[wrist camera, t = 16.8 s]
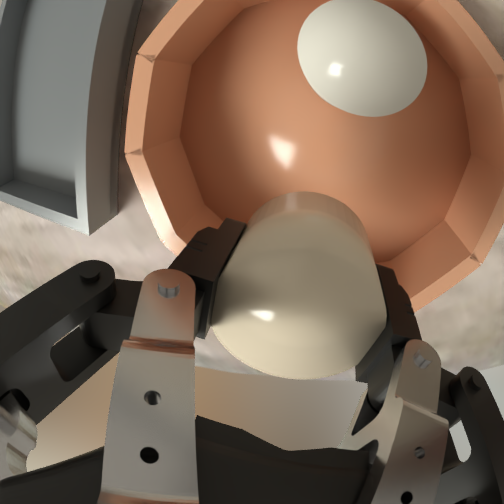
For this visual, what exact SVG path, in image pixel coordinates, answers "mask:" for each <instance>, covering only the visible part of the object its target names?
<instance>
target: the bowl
mask: <svg viewBox="0 0 504 504" xmlns="http://www.w3.org/2000/svg"><path fill="white" fill-rule="evenodd" d="M329 1H332V0H178V1H177V3H176V4H175V5H174V6H173V7H172V8H171V9H170V11H169V12H168V13H167V14H166V15H165V17H164V18H163V19H162V20H161V22H160V23H159V24H158V25H157V27H156V28H155V29H154V30H153V32H152V33H151V34H150V36H149V37H148V38H147V40H146V41H145V42H144V44H143V45H142V46H141V48H140V49H139V51H138V52H137V53H139V54H140V55H136V59H135V65H134V71H133V77H132V84H131V91H130V98H129V106H128V115H127V125H126V137H125V150H124V153H128V154H126V155H125V157H126V160H127V162H128V165H129V167H130V170H131V173H132V175H133V178H134V180H135V182H136V185H137V187H138V190H139V192H140V195H141V197H142V199H143V202H144V204H145V206H146V209H147V211H148V213H149V216H150V218H151V220H152V222H153V225H154V227H155V229H156V231H157V233H158V236H159V238H160V240H161V242H163V241H165V242H164V243H163V244H164V245H165V246H166V247H167V248H168V249H169V250H170V251H171V252H173V253H174V254H175V255H176V256H178V255H179V254H180V252H181V251H182V250H183V249H184V247H186V245H187V244H188V243H189V241H191V239H192V238H193V236H194V235H195V234H196V233H197V232H198V231H200V230H202V229H204V228H206V227H208V226H209V227H212V228H215V229H218V228H219V227H220V225H221V224H222V223H223V221H224V220H225V219H226V218H230V219H234V220H237V221H240V222H244V223H246V225H247V223H248V221H249V220H250V218H251V217H252V215H253V214H254V213H255V212H256V211H257V210H258V208H260V207H261V206H262V205H263V204H265V203H266V202H268V201H270V200H271V199H273V198H275V197H278V196H280V195H283V194H287V193H292V192H302V191H308V192H317V193H321V194H325V195H328V196H330V197H333V198H335V199H337V200H339V201H341V202H342V203H344V204H345V205H346V206H348V207H349V208H350V209H351V210H352V211H353V212H354V213H355V214H356V215H357V216H358V218H359V219H360V220H361V222H362V224H363V226H364V227H365V230H366V233H367V235H368V239H369V242H370V246H371V249H372V253H373V257H374V260H375V263H376V264H379V265H382V266H385V267H388V268H391V269H393V270H394V272H395V275H396V278H397V281H398V284H399V285H401V286H402V287H403V288H404V290H405V291H406V293H407V294H408V295H409V298H410V301H411V304H412V308H413V311H414V312H416V311H417V310H419V309H421V308H422V307H424V306H425V305H427V304H428V303H430V302H431V301H433V300H434V299H436V298H437V297H439V296H440V295H441V294H443V293H444V292H446V291H447V290H449V289H450V288H451V287H453V286H454V285H456V284H457V283H458V282H460V281H461V280H462V279H464V278H465V277H466V276H468V275H469V274H470V273H472V272H473V271H474V270H475V269H477V268H478V267H479V266H481V265H480V263H483V261H484V260H485V258H486V256H487V254H488V252H489V251H490V249H491V247H492V245H493V243H494V241H495V239H496V237H497V235H498V233H499V231H500V229H501V227H502V225H503V223H504V61H503V60H502V58H501V56H500V55H499V53H498V52H497V50H496V49H495V47H494V46H493V45H492V43H491V42H490V40H489V39H488V38H487V36H486V35H485V33H484V32H483V31H482V29H481V28H480V27H479V26H478V24H477V23H476V22H475V21H474V19H473V18H472V17H471V16H470V14H469V13H468V12H467V11H466V10H465V8H464V7H463V6H462V5H461V4H460V3H459V2H458V1H457V0H374V1H377V2H380V3H382V4H384V5H386V6H388V7H390V8H392V9H393V10H395V11H396V12H398V13H399V14H400V15H402V16H403V17H404V18H405V19H406V20H407V21H408V22H409V23H410V24H411V26H412V27H413V28H414V29H415V31H416V32H417V34H418V35H419V37H420V39H421V41H422V44H423V46H424V49H425V53H426V57H427V75H426V80H425V83H424V86H423V88H422V90H421V92H420V94H419V95H418V96H417V98H416V99H415V100H414V101H413V102H412V103H411V104H410V105H409V106H407V107H406V108H404V109H403V110H401V111H399V112H396V113H394V114H391V115H386V116H380V117H366V116H360V115H355V114H352V113H349V112H346V111H344V110H341V109H339V108H337V107H334V106H332V105H331V104H329V103H327V102H326V101H324V100H323V99H322V98H321V97H319V96H318V95H317V94H316V92H315V91H314V90H313V89H312V87H311V86H310V84H309V83H308V81H307V79H306V77H305V75H304V73H303V71H302V68H301V66H300V62H299V58H298V51H297V45H298V37H299V33H300V30H301V27H302V25H303V23H304V21H305V20H306V19H307V17H308V16H309V15H310V14H311V13H312V12H313V11H314V10H315V9H316V8H318V7H319V6H321V5H322V4H324V3H326V2H329Z"/></svg>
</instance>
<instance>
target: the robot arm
mask: <svg viewBox="0 0 504 504" xmlns="http://www.w3.org/2000/svg"><path fill="white" fill-rule="evenodd" d="M245 228H246V223H244V222H240V221H237V220H234V219H230V218H226V219H225V220H224V221H223V223H222V224H221V225H220V227H219V228H218V229H215V228H212V227H209V226H208V227H206V228H204V229H202V230H200V231H198V232H197V233H196V234H195V235H194V236H193V238H192V239H191V241H189V243H188V244H187V245H186V247H184V249H183V250H182V251H181V252H180V254H179V255H178V256H177V257H176V259H175V260H174V261H173V263H172V264H171V265H170V266H169V268H168V269H160V270H156V271H154V272H151V273H150V274H148V275H147V276H146V277H145V279H144V281H129V280H121V279H115V272H114V269H113V268H112V267H111V266H110V265H109V264H107V263H106V262H103V261H99V260H88V261H84V262H81V263H79V264H77V265H75V266H73V267H71V268H70V269H68V270H66V271H65V272H63V273H61V274H60V275H58V276H56V277H55V278H53V279H52V280H50V281H48V282H47V283H45V284H43V285H42V286H40V287H39V288H37V289H36V290H34V291H32V292H31V293H29V294H28V295H26V296H25V297H23V298H22V299H20V300H19V301H17V302H16V303H14V304H13V305H11V306H10V307H8V308H7V309H5V310H4V311H2V312H1V313H0V504H504V420H503V418H502V415H501V413H500V411H499V408H498V406H497V404H496V402H495V399H494V397H493V395H492V393H491V391H490V389H489V386H488V384H487V382H486V381H485V379H484V377H483V376H482V374H481V373H480V372H479V371H478V370H476V369H475V368H472V367H464V368H463V369H462V370H461V371H460V372H459V373H458V374H457V375H454V374H453V373H451V372H449V371H447V370H445V369H443V368H441V360H440V357H439V355H438V353H437V352H436V351H435V349H434V348H433V347H432V346H431V345H429V344H428V343H426V342H424V341H422V338H421V335H420V331H419V328H418V324H417V321H416V317H415V316H414V311H413V308H412V304H411V301H410V298H409V295H408V294H407V293H406V291H405V290H404V288H403V287H402V286H401V285H399V284H398V281H397V278H396V275H395V272H394V270H393V269H391V268H388V267H385V266H382V265H379V264H376V263H375V264H376V268H377V272H378V276H379V280H380V284H381V288H382V292H383V297H384V301H385V306H386V314H387V318H386V327H385V328H384V330H383V331H382V333H381V334H380V335H379V337H378V338H377V340H376V341H375V342H374V344H373V345H372V346H371V348H370V349H369V350H368V352H367V353H366V354H365V356H364V357H363V358H362V360H361V361H360V362H359V363H358V364H357V365H356V366H355V369H356V381H359V382H364V383H368V388H367V390H366V391H365V392H364V393H363V394H362V396H361V398H360V400H359V403H358V406H357V408H356V410H355V413H354V416H353V418H352V420H351V423H350V425H349V427H348V430H347V432H346V434H345V437H344V438H343V440H342V442H341V443H340V445H339V446H338V447H337V448H323V449H311V450H297V451H287V450H283V449H281V448H278V447H276V446H274V445H272V444H270V443H268V442H266V441H264V440H262V439H260V438H258V437H256V436H254V435H252V434H250V433H248V432H246V431H244V430H243V429H239V428H236V427H232V426H229V425H226V424H222V423H219V422H216V421H213V420H209V419H207V418H204V417H200V416H198V415H197V417H196V419H195V392H194V389H195V381H194V380H195V372H194V371H195V369H194V367H195V348H194V347H193V341H194V339H195V337H199V338H202V339H205V337H206V335H207V333H208V331H209V328H210V326H211V318H212V312H213V307H214V301H215V295H216V290H217V284H218V279H219V277H220V275H221V273H222V271H223V269H224V267H225V265H226V264H227V262H228V260H229V258H230V256H231V254H232V252H233V250H234V248H235V247H236V245H237V243H238V241H239V239H240V237H241V235H242V233H243V232H244V230H245ZM78 325H79V327H78V328H76V329H75V330H74V331H72V332H71V333H70V334H68V335H67V336H66V337H64V338H63V339H62V340H61V341H59V342H58V343H56V345H54V343H55V342H57V341H58V340H59V339H61V338H62V337H63V336H65V335H66V334H67V333H68V332H70V331H71V330H72V329H74V328H75V327H77V326H78ZM53 345H54V346H53ZM52 346H53V347H52ZM119 352H120V354H119V358H118V363H117V368H116V373H115V378H114V384H113V390H112V396H111V402H110V408H109V415H108V423H107V430H106V438H105V446H103V447H100V448H98V449H95V450H93V451H90V452H87V453H85V454H82V455H79V456H76V457H74V458H71V459H68V460H65V461H62V462H59V463H56V464H53V465H50V466H47V467H44V468H40V469H37V470H34V471H30V472H27V469H26V460H27V456H28V454H29V452H30V451H31V450H33V449H34V448H35V447H36V440H37V427H36V425H37V424H38V423H39V422H40V421H41V420H42V419H44V418H45V417H46V416H47V415H48V414H49V413H50V412H52V411H53V410H54V409H55V408H56V407H57V406H58V405H59V404H61V403H62V402H63V401H64V400H65V399H66V398H67V397H68V396H70V395H71V394H72V393H73V392H74V391H75V390H76V389H78V388H79V387H80V386H81V385H82V384H83V383H84V382H86V381H87V380H88V379H89V378H90V377H91V376H92V375H93V374H95V373H96V372H97V371H98V370H99V369H100V368H101V367H103V366H104V365H105V364H106V363H107V362H108V361H109V360H111V359H112V358H113V357H114V356H115V355H116V354H117V353H119ZM460 420H461V421H462V423H463V426H464V429H465V431H466V434H467V437H468V440H469V443H470V446H471V455H470V457H469V459H468V460H467V461H465V462H461V461H460V460H459V458H458V455H457V452H456V449H455V446H454V443H453V440H452V437H451V434H450V431H449V429H450V428H451V427H452V426H453V425H455V424H456V423H458V422H459V421H460Z"/></svg>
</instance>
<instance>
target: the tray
mask: <svg viewBox="0 0 504 504" xmlns="http://www.w3.org/2000/svg"><path fill="white" fill-rule="evenodd" d="M142 1H143V0H2V4H1V7H0V201H3V202H5V203H7V204H10V205H12V206H15V207H17V208H20V209H22V210H24V211H27V212H29V213H32V214H34V215H37V216H39V217H42V218H44V219H47V220H49V221H52V222H54V223H57V224H60V225H62V226H65V227H67V228H70V229H73V230H75V231H78V232H81V233H83V234H86V235H89V236H90V235H91V234H92V233H94V232H95V231H96V230H97V229H99V228H100V227H101V226H103V225H104V224H105V223H107V222H108V221H109V220H111V219H112V218H113V217H115V216H116V215H118V160H119V142H120V129H121V118H122V108H123V99H124V92H125V84H126V77H127V71H128V65H129V59H130V54H131V49H132V43H133V39H134V34H135V29H136V25H137V21H138V17H139V13H140V9H141V5H142Z"/></svg>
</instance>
